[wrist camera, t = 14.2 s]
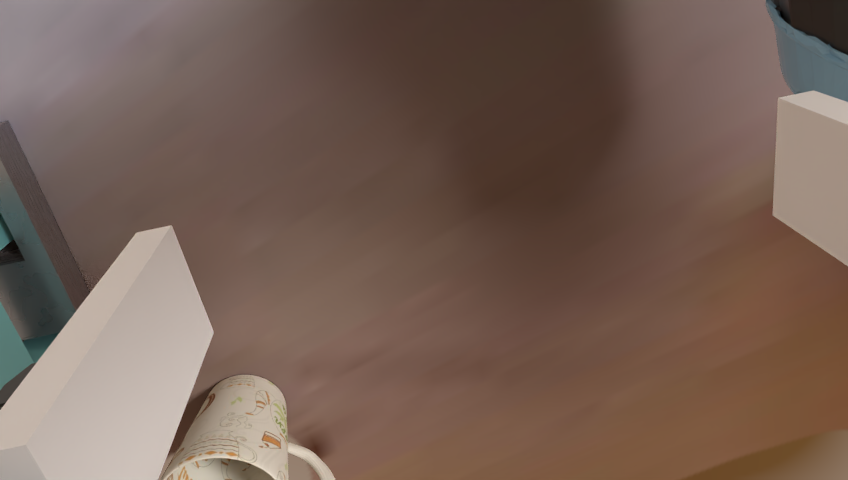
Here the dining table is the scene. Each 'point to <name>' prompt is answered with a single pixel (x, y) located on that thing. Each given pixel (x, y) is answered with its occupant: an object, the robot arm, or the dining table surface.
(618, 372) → the dining table surface
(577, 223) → the dining table surface
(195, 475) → the mug
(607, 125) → the dining table surface
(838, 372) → the dining table surface
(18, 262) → the block
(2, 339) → the panel
